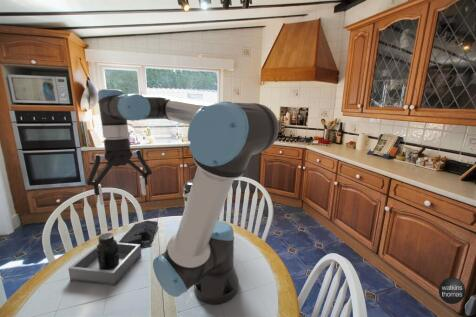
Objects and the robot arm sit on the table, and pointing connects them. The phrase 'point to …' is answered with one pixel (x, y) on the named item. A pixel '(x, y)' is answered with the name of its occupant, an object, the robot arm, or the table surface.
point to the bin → (91, 272)
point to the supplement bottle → (107, 251)
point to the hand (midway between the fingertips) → (123, 198)
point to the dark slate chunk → (140, 234)
